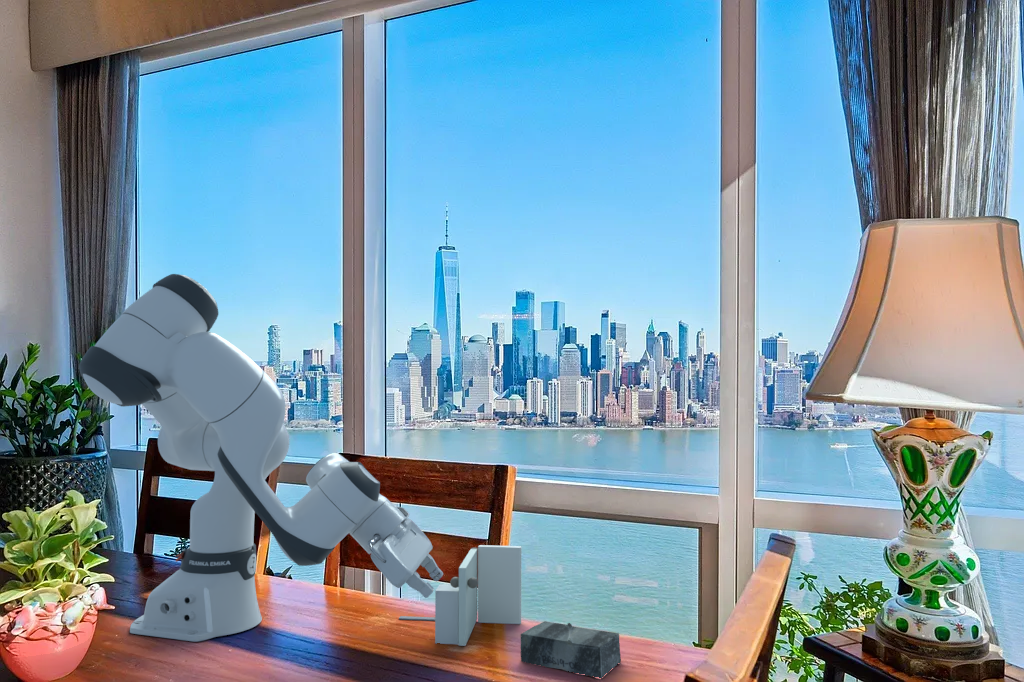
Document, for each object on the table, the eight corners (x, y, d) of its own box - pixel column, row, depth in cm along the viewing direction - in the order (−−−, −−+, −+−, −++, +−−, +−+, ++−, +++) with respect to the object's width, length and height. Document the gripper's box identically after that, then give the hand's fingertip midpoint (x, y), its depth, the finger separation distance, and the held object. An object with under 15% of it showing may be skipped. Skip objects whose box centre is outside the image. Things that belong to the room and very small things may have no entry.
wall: (398, 619, 145) (399, 544, 145) (400, 617, 146) (400, 542, 147) (520, 624, 143) (520, 547, 143) (521, 621, 144) (521, 546, 144)
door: (476, 646, 130) (476, 568, 130) (447, 645, 130) (448, 567, 131) (487, 617, 145) (487, 547, 145) (461, 617, 145) (462, 547, 145)
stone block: (546, 646, 132) (546, 615, 133) (624, 663, 125) (624, 630, 125) (519, 662, 125) (520, 630, 125) (601, 682, 117) (601, 647, 117)
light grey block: (458, 644, 132) (458, 591, 133) (435, 643, 133) (435, 590, 133) (462, 636, 136) (462, 584, 137) (439, 635, 137) (440, 584, 137)
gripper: (378, 530, 127) (437, 591, 126) (406, 505, 147) (456, 558, 146) (352, 556, 127) (410, 618, 126) (383, 528, 147) (433, 581, 147)
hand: (435, 585), depth 136 cm, fingers open, 8 cm apart
